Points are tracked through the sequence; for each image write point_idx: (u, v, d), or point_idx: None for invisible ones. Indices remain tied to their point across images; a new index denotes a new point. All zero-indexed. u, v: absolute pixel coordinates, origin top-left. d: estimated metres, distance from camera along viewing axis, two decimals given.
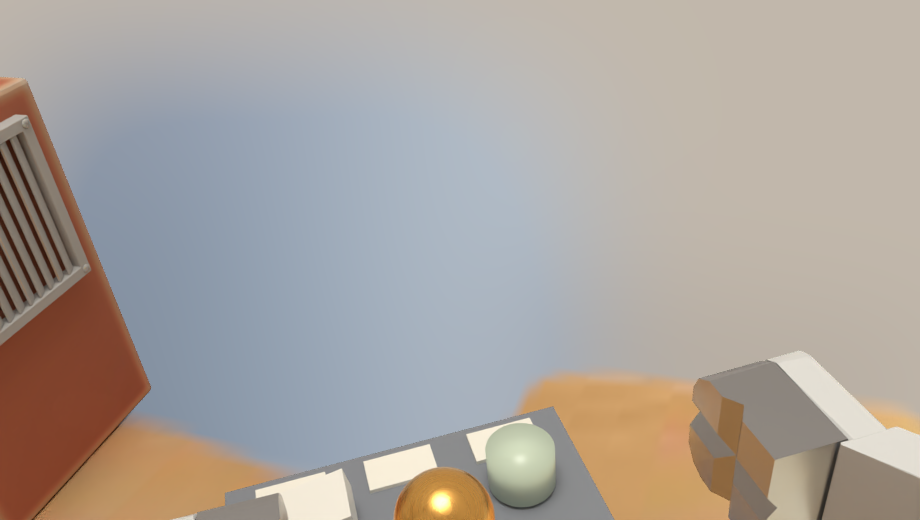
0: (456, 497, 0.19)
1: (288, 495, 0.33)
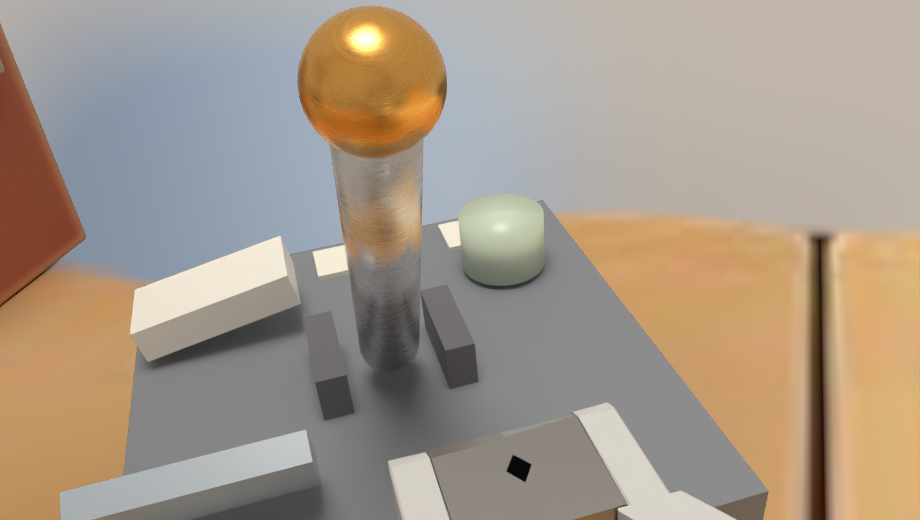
0: (386, 20, 0.13)
1: (213, 265, 0.27)
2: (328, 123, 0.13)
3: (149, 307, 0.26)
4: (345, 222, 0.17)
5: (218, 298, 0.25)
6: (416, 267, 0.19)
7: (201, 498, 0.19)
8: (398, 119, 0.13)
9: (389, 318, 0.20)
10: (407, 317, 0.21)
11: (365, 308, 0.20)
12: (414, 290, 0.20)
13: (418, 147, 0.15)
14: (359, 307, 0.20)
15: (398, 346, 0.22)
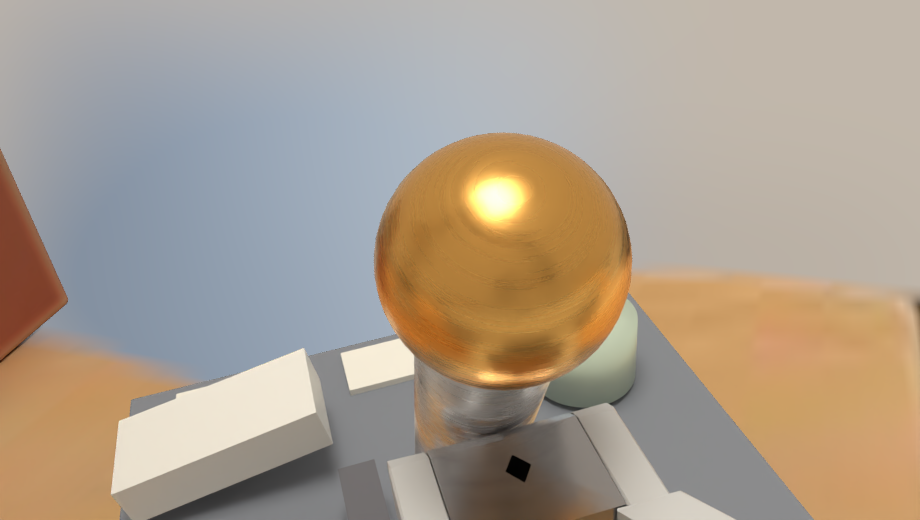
0: (541, 168, 0.07)
1: (219, 389, 0.21)
2: (435, 350, 0.07)
3: (137, 451, 0.20)
4: (426, 428, 0.11)
5: (226, 442, 0.19)
6: None
7: None
8: (563, 345, 0.07)
9: None
10: None
11: None
12: None
13: None
14: None
15: None
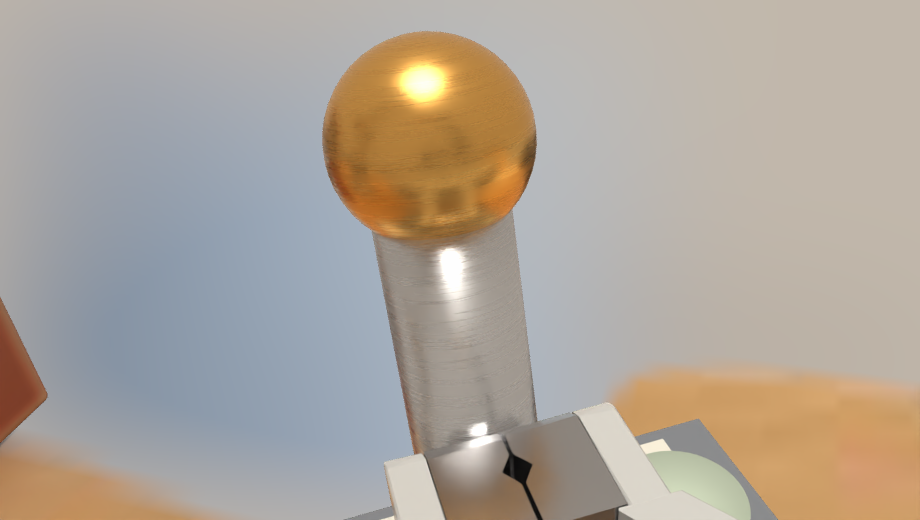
0: None
1: None
2: (361, 156, 0.09)
3: None
4: (417, 430, 0.11)
5: None
6: None
7: None
8: (464, 125, 0.09)
9: None
10: None
11: None
12: None
13: (509, 242, 0.10)
14: None
15: None
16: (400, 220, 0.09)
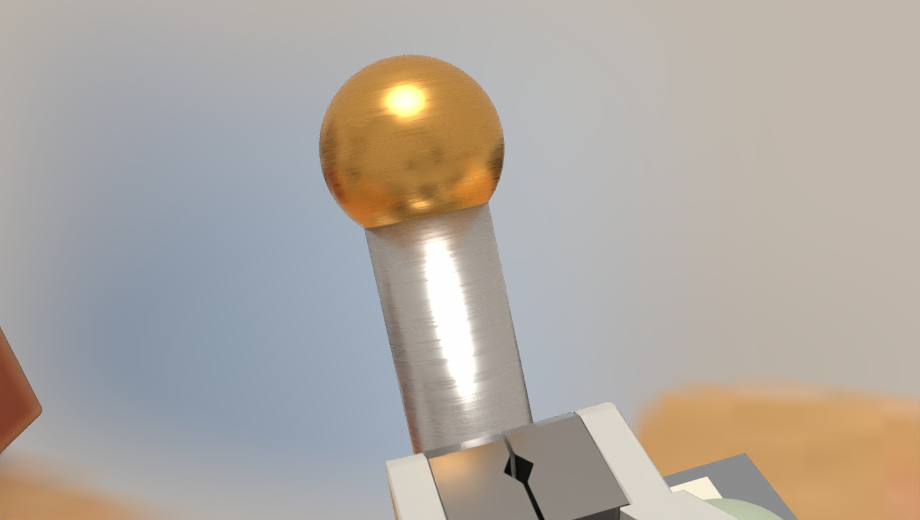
0: None
1: None
2: (347, 144, 0.10)
3: None
4: (413, 424, 0.11)
5: None
6: None
7: None
8: (432, 109, 0.10)
9: None
10: None
11: None
12: None
13: (486, 229, 0.11)
14: None
15: None
16: (383, 199, 0.10)
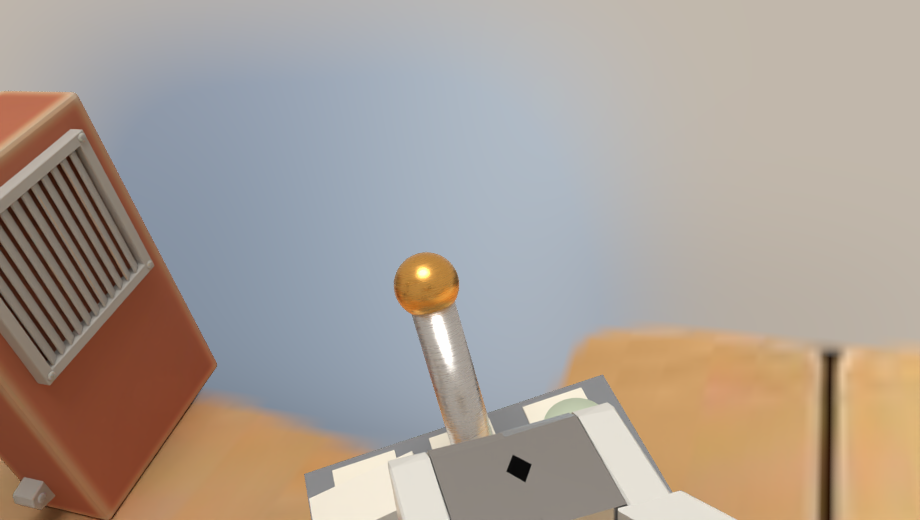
0: None
1: (365, 478, 0.36)
2: (404, 291, 0.31)
3: (325, 519, 0.35)
4: (433, 379, 0.32)
5: (376, 515, 0.35)
6: (483, 419, 0.32)
7: None
8: (431, 279, 0.31)
9: None
10: None
11: None
12: None
13: (453, 313, 0.31)
14: None
15: None
16: (417, 308, 0.31)
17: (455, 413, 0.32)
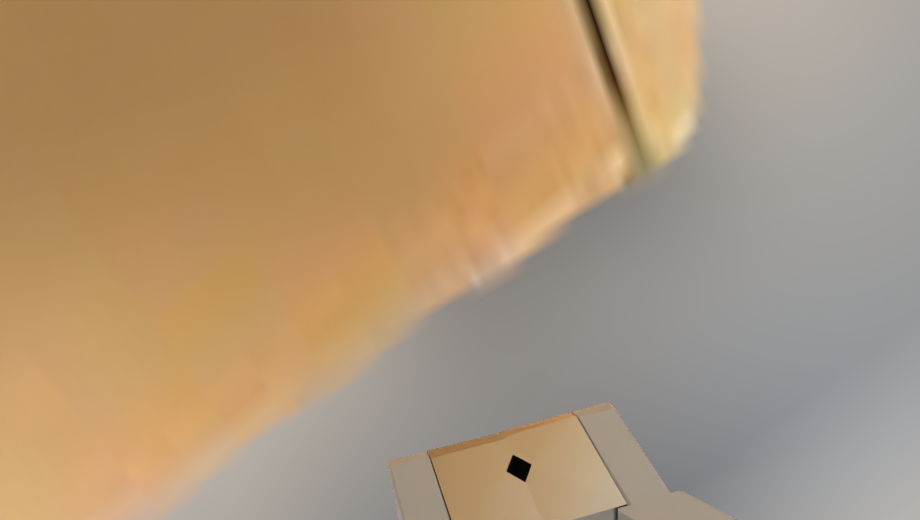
0: None
1: None
2: None
3: None
4: None
5: None
6: None
7: None
8: None
9: None
10: None
11: None
12: None
13: None
14: None
15: None
16: None
17: None
